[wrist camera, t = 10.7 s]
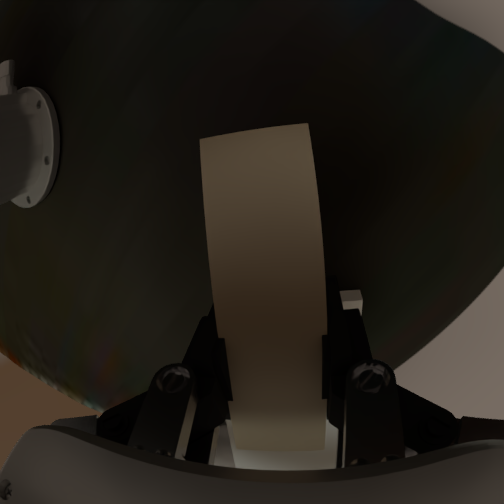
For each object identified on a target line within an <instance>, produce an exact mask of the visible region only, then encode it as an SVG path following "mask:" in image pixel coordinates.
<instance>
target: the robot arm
mask: <svg viewBox="0 0 504 504" xmlns="http://www.w3.org/2000/svg"><path fill="white" fill-rule="evenodd" d="M59 153H60V133H59V124H58V119H57V114H56V111H55V108H54V105H53V102H52V101H51V99H50V97H49V95H48V94H47V93H46V92H45V91H44V90H42V89H41V88H39V87H23V88H21V89H19V90H17V86H14V60H7V61H4V62H2V63H1V64H0V205H1V204H3V203H5V202H7V201H9V200H11V201H12V202H13V203H15V204H16V205H18V206H20V207H23V208H29V207H32V206H34V205H37V204H39V203H40V202H41V201H43V200H44V199H45V197H46V196H47V195H48V194H49V192H50V190H51V188H52V186H53V183H54V180H55V177H56V173H57V168H58V163H59ZM325 284H326V305H327V335H322V399H327V420H329V423H330V424H331V425H333V426H334V427H336V428H337V445H336V459H335V469H321V470H257V469H243V468H233V467H224V466H216V465H214V461H215V455H216V448H217V442H218V436H219V425H221V424H223V423H224V422H225V420H231V417H230V411H229V405H228V401H233V395H232V389H231V382H230V375H229V368H228V360H227V353H226V345H225V338H218V332H217V325H216V317H215V309H214V303H213V305H212V307H211V310H210V312H209V315H208V316H204V317H202V318H201V320H200V322H199V325H198V327H197V329H196V331H195V334H194V336H193V338H192V341H191V343H190V345H189V347H188V350H187V352H186V354H185V357H184V359H183V361H182V363H174V364H169V365H166V366H164V367H163V368H161V369H160V370H158V371H157V372H156V373H155V375H154V377H153V379H152V381H151V384H150V386H149V389H148V391H146V392H144V393H142V394H140V395H138V396H136V397H134V398H132V399H130V400H128V401H126V402H123V403H121V404H119V405H117V406H115V407H113V408H110V409H109V410H107V411H105V412H104V413H103V414H102V415H101V416H100V417H98V416H97V415H93V416H85V417H76V418H65V419H58V420H56V421H54V422H53V423H52V424H51V425H42V426H36V427H33V428H31V429H29V430H28V431H26V432H25V433H24V434H23V435H22V437H21V438H20V439H19V440H18V442H17V443H16V445H15V446H14V448H13V449H12V451H11V453H10V454H9V456H8V458H7V459H6V461H5V463H4V465H3V467H2V469H1V470H0V504H504V420H498V419H486V418H475V417H467V416H463V417H462V418H461V419H458V418H455V417H454V415H453V414H452V413H451V412H449V411H448V410H446V409H444V408H442V407H440V406H438V405H436V404H434V403H432V402H430V401H428V400H426V399H424V398H422V397H420V396H418V395H416V394H414V393H412V392H410V391H408V390H407V389H405V388H403V387H401V386H399V385H397V384H396V378H395V374H394V371H393V369H392V368H391V367H390V366H389V365H388V364H386V363H385V362H383V361H380V360H376V359H372V355H371V351H370V347H369V343H368V339H367V335H366V331H365V328H364V324H363V320H362V317H361V313H360V310H359V309H358V308H354V309H343V304H342V300H341V295H340V291H339V287H338V282H337V278H336V276H326V277H325Z"/></svg>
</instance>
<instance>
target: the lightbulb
mask: <svg viewBox="0 0 504 504" xmlns="http://www.w3.org/2000/svg"><path fill="white" fill-rule="evenodd" d="M214 465H216V466H224V467H233V468H236V467H235V462H234V458H233V453H232V448H231V443H230V438H229V433H228V428H227V423H226V420H225V422H224V423H223V424H221V425H219V436H218V442H217V448H216V455H215V461H214Z"/></svg>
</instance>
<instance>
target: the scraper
mask: <svg viewBox="0 0 504 504" xmlns="http://www.w3.org/2000/svg"><path fill="white" fill-rule="evenodd" d="M200 154H201V171H202V186H203V199H204V212H205V224H206V235H207V245H208V256H209V265H210V275H211V284H212V292H213V301H214V309H215V317H216V325H217V332H218V338H225V345H226V353H227V360H228V368H229V375H230V382H231V389H232V395H233V401H228V405H229V411H230V417H231V420H226V423H227V428H228V433H229V438H230V443H231V448H232V453H233V458H234V462H235V467H236V468H243V469H257V470H321V469H335V459H336V445H337V428H336V427H334V426H333V425H331V424H330V423H329V420H327V399H322V335H327V305H326V284H325V267H324V253H323V240H322V229H321V218H320V208H319V199H318V191H317V182H316V174H315V167H314V160H313V153H312V146H311V139H310V133H309V127H308V123H305V124H294V125H285V126H276V127H269V128H261V129H254V130H248V131H242V132H236V133H230V134H224V135H219V136H214V137H209V138H204V139H200Z"/></svg>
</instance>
